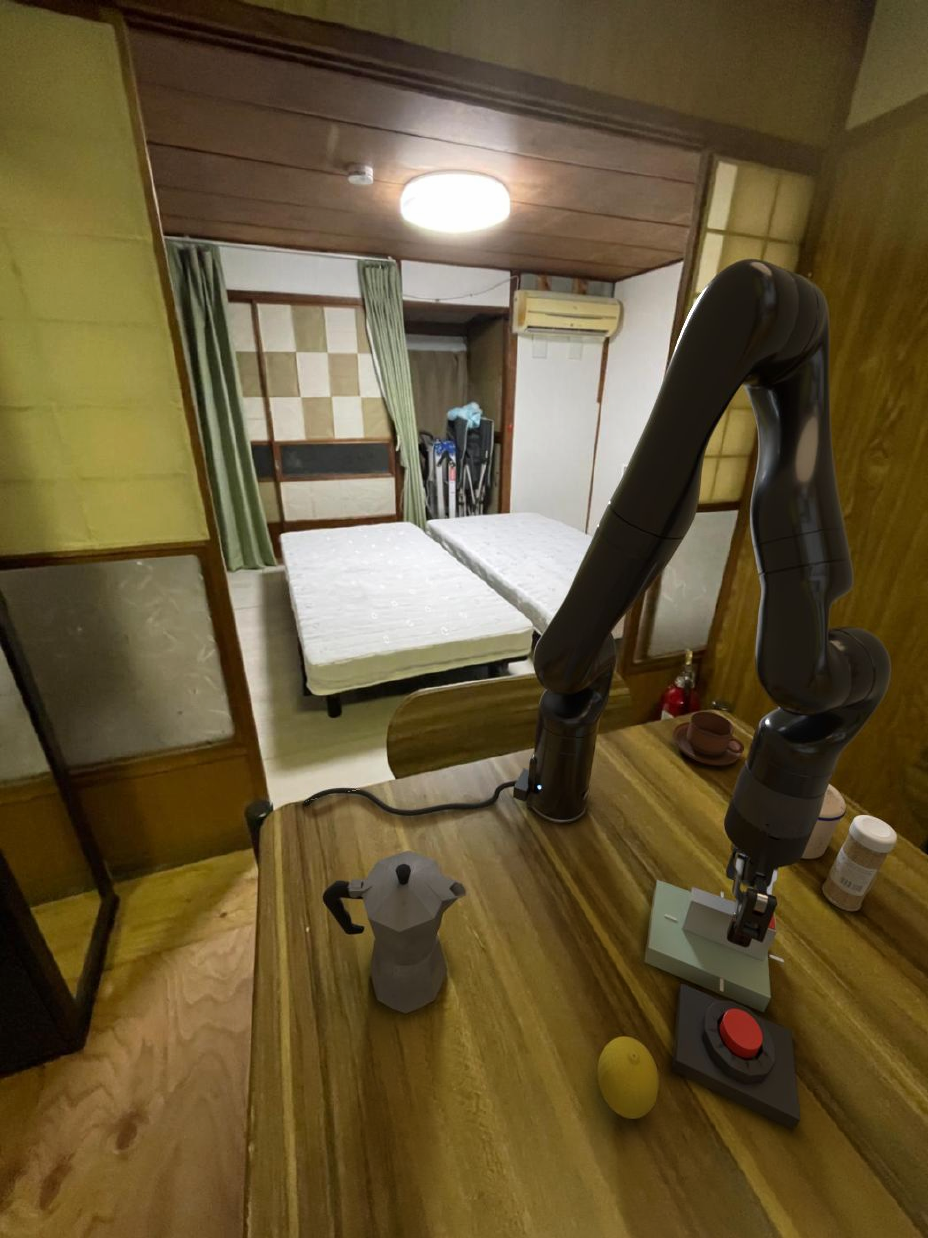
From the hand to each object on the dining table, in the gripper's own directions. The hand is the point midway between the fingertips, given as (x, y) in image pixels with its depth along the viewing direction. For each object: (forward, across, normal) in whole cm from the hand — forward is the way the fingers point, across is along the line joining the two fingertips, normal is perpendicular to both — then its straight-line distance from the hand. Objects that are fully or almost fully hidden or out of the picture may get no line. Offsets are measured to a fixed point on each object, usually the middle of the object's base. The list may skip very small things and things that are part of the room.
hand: (735, 908), depth 60 cm
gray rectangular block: (+5, 0, 0) cm, 5 cm away
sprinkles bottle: (+9, -15, +15) cm, 23 cm away
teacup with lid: (+9, -23, +9) cm, 27 cm away
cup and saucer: (+9, -40, -3) cm, 41 cm away
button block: (+9, +11, +1) cm, 14 cm away
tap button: (+5, +11, +1) cm, 12 cm away
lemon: (+9, +19, -9) cm, 23 cm away
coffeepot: (+8, +18, -35) cm, 40 cm away
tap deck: (+8, 0, -2) cm, 9 cm away
